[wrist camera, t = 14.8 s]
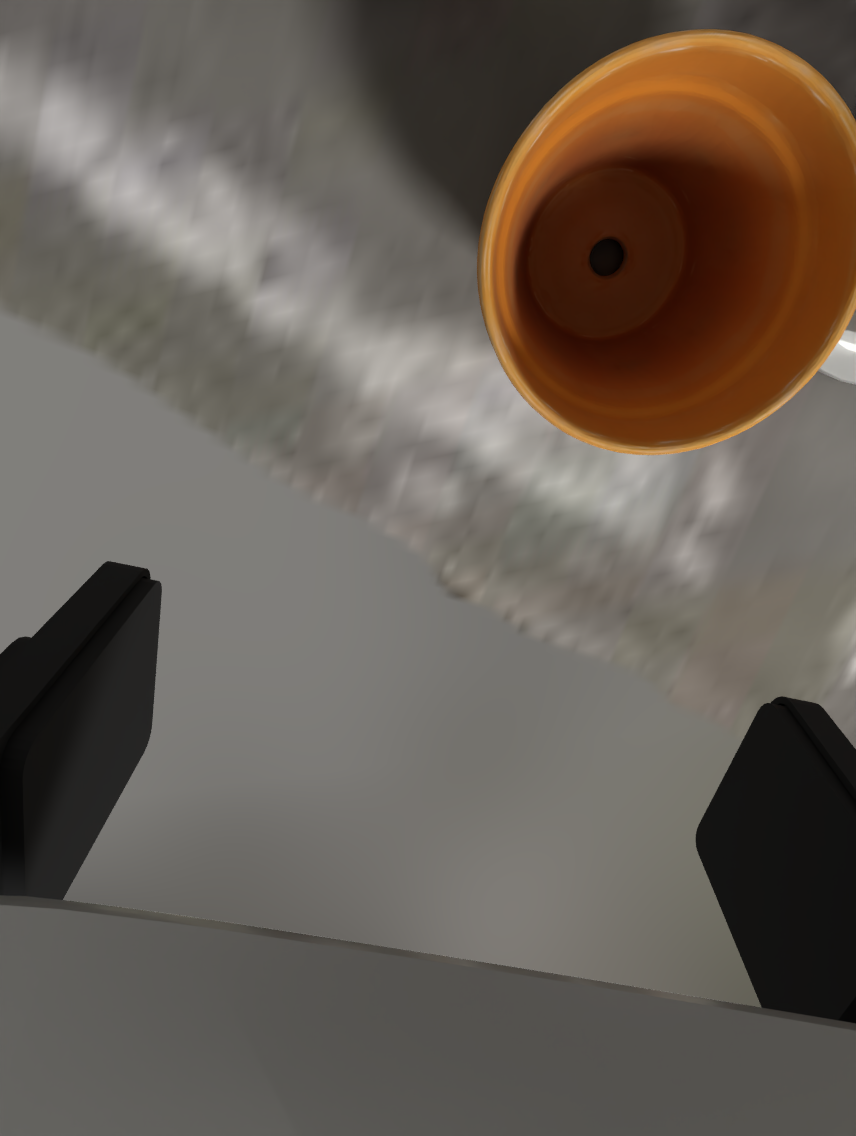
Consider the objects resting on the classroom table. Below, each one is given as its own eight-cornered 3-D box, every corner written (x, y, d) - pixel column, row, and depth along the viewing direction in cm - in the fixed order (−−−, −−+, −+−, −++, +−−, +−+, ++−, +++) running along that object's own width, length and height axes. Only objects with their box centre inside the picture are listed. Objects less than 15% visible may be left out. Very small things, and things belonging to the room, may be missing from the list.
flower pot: (562, 27, 34) (629, -75, 22) (799, 192, 36) (969, 178, 25) (418, 309, 39) (410, 346, 27) (633, 433, 42) (709, 515, 30)
